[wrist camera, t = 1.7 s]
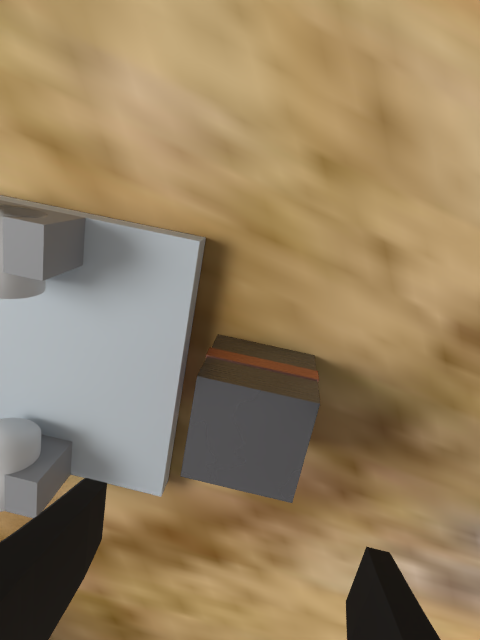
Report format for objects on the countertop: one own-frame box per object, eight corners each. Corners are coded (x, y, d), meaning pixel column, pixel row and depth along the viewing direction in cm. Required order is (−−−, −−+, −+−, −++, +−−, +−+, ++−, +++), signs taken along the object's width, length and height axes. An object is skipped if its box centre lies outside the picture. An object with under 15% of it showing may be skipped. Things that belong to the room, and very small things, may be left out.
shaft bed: (168, 480, 22) (138, 549, 18) (-78, 420, 23) (-160, 473, 19) (205, 237, 18) (178, 254, 14) (-98, 175, 19) (-210, 173, 15)
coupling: (293, 438, 21) (292, 504, 16) (202, 417, 21) (179, 477, 17) (315, 353, 19) (321, 402, 15) (217, 332, 19) (195, 374, 15)
